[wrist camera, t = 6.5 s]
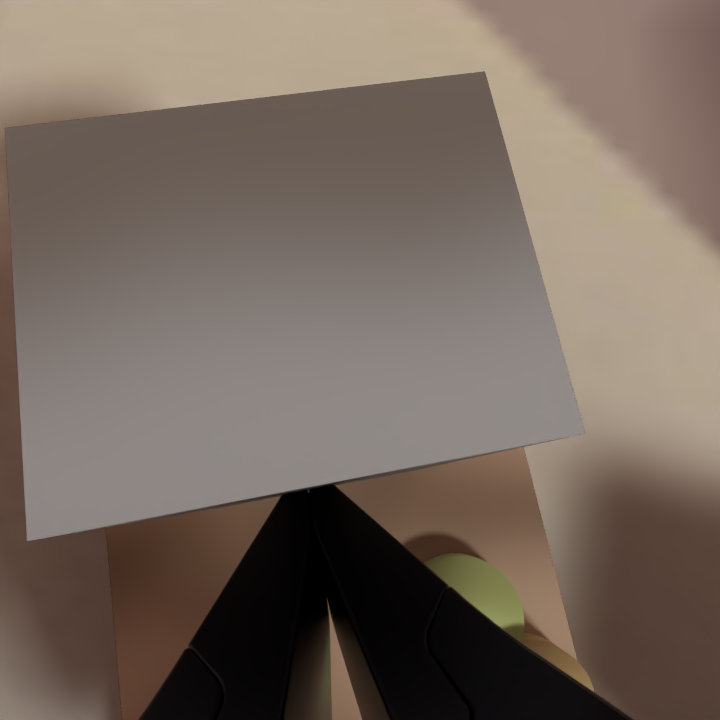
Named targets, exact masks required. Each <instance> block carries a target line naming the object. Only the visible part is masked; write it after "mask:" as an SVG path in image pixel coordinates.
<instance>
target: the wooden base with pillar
mask: <svg viewBox="0 0 720 720" xmlns="http://www.w3.org/2000/svg"><path fill="white" fill-rule="evenodd" d="M5 141H6V159H7V178H8V197H9V215H10V234H11V252H12V271H13V290H14V308H15V327H16V346H17V364H18V383H19V401H20V420H21V439H22V457H23V476H24V494H25V513H26V532H27V541H31V540H37V539H43V538H49V537H54V536H60V535H66V534H72V533H77V532H83V531H89V530H95V529H100V528H106V536H107V548H108V560H109V571H110V583H111V595H112V607H113V619H114V631H115V643H116V655H117V666H118V678H119V690H120V702H121V714H122V720H138V719H139V717H140V716H141V714H142V713H143V712H144V710H145V709H146V708H147V706H148V705H149V703H150V701H151V700H152V698H153V697H154V695H155V694H156V692H157V691H158V689H159V688H160V686H161V685H162V683H163V682H164V680H165V679H166V677H167V676H168V674H169V673H170V671H171V670H172V668H173V667H174V665H175V663H176V662H177V660H178V659H179V657H180V655H181V654H182V652H183V651H184V649H186V648H188V644H189V643H190V641H191V639H192V638H193V636H194V635H195V633H196V631H197V630H198V628H199V627H200V625H201V623H202V622H203V620H204V619H205V617H206V615H207V614H208V612H209V611H210V609H211V607H212V606H213V604H214V603H215V601H216V599H217V598H218V596H219V595H220V593H221V591H222V590H223V588H224V587H225V585H226V583H227V582H228V580H229V579H230V577H231V575H232V574H233V572H234V571H235V569H236V567H237V566H238V564H239V563H240V561H241V559H242V558H243V556H244V555H245V553H246V551H247V550H248V548H249V547H250V545H251V543H252V542H253V540H254V539H255V537H256V535H257V534H258V532H259V531H260V529H261V527H262V526H263V524H264V523H265V521H266V519H267V518H268V516H269V515H270V513H271V511H272V510H273V508H274V507H275V505H276V503H277V502H278V500H279V499H280V497H281V495H283V494H288V493H293V492H298V491H303V490H308V493H309V489H313V488H319V487H324V486H329V485H335V486H336V487H337V488H339V489H340V490H341V491H342V492H343V493H344V494H345V495H347V496H348V497H349V498H350V499H351V500H352V501H353V502H355V503H356V504H357V505H358V506H359V507H360V508H361V509H363V510H364V511H365V512H366V513H367V514H368V515H369V516H371V517H372V518H373V519H374V520H375V521H376V522H377V523H379V524H380V525H381V526H382V527H383V528H384V529H385V530H387V531H388V532H389V533H390V534H391V535H392V536H393V537H395V538H396V539H397V540H398V541H399V542H400V543H401V544H403V545H404V546H405V547H406V548H407V549H408V550H409V551H411V552H412V553H413V554H414V555H415V556H416V557H417V558H419V559H420V560H421V561H422V562H423V563H424V564H425V565H427V566H428V567H429V568H430V569H431V570H432V571H433V572H435V573H436V574H437V575H438V576H439V577H440V578H441V579H443V580H444V581H445V582H446V583H447V584H448V585H449V587H453V588H454V589H455V590H456V591H457V592H459V593H460V594H461V595H462V596H463V597H464V598H465V599H466V600H468V601H469V602H470V603H471V604H472V605H474V606H475V607H476V608H477V609H478V610H480V611H481V612H482V613H483V614H485V615H486V616H487V617H488V618H490V619H491V620H492V621H493V622H494V623H496V624H497V625H498V626H500V627H501V628H503V629H504V630H505V631H507V632H508V633H509V634H511V635H512V636H514V637H515V638H516V639H518V640H519V641H521V642H522V643H523V644H525V645H526V646H528V647H529V648H530V649H532V650H533V651H535V652H536V653H538V654H539V655H541V656H542V657H544V658H545V659H546V660H548V661H549V662H551V663H552V664H554V665H555V666H557V667H558V668H560V669H561V670H563V671H564V672H566V673H567V674H569V675H570V676H571V677H573V678H574V679H576V680H577V681H579V682H580V683H582V684H583V685H585V686H586V687H588V688H589V689H591V690H592V691H593V692H594V689H593V685H592V682H591V680H590V678H589V676H588V674H587V672H586V671H585V669H584V668H583V667H582V665H581V664H580V663H579V662H578V661H577V657H576V653H575V649H574V645H573V641H572V637H571V633H570V629H569V625H568V621H567V617H566V613H565V609H564V605H563V601H562V597H561V593H560V589H559V585H558V581H557V577H556V573H555V569H554V565H553V561H552V558H551V554H550V550H549V546H548V542H547V538H546V534H545V530H544V526H543V522H542V518H541V514H540V510H539V506H538V502H537V498H536V494H535V490H534V486H533V482H532V478H531V474H530V470H529V466H528V462H527V458H526V454H525V450H524V447H525V446H530V445H534V444H539V443H544V442H548V441H553V440H558V439H562V438H567V437H572V436H576V435H581V434H585V430H584V426H583V423H582V419H581V416H580V412H579V408H578V405H577V401H576V398H575V394H574V390H573V387H572V383H571V380H570V376H569V372H568V369H567V365H566V362H565V358H564V354H563V351H562V347H561V344H560V340H559V336H558V333H557V329H556V326H555V322H554V318H553V315H552V311H551V308H550V304H549V300H548V297H547V293H546V290H545V286H544V282H543V279H542V275H541V272H540V268H539V264H538V261H537V257H536V254H535V250H534V246H533V243H532V239H531V236H530V232H529V228H528V225H527V221H526V218H525V214H524V210H523V207H522V203H521V200H520V196H519V192H518V189H517V185H516V182H515V178H514V174H513V171H512V167H511V164H510V160H509V157H508V153H507V149H506V146H505V142H504V139H503V135H502V131H501V128H500V124H499V121H498V117H497V113H496V110H495V106H494V103H493V99H492V95H491V92H490V88H489V85H488V81H487V77H486V74H485V71H484V72H476V73H467V74H459V75H450V76H442V77H433V78H425V79H416V80H408V81H399V82H391V83H382V84H374V85H365V86H357V87H348V88H340V89H331V90H323V91H314V92H306V93H298V94H289V95H281V96H272V97H264V98H255V99H247V100H238V101H230V102H221V103H213V104H204V105H196V106H187V107H179V108H170V109H162V110H153V111H145V112H136V113H128V114H119V115H111V116H102V117H94V118H85V119H77V120H68V121H60V122H51V123H43V124H34V125H26V126H17V127H9V128H5ZM327 601H328V600H327ZM328 609H329V605H328ZM329 621H330V654H331V698H332V720H362V717H361V714H360V711H359V708H358V704H357V701H356V698H355V694H354V691H353V688H352V685H351V681H350V678H349V675H348V672H347V668H346V665H345V662H344V658H343V655H342V652H341V649H340V645H339V642H338V639H337V636H336V632H335V629H334V625H333V622H332V618H331V614H330V610H329Z"/></svg>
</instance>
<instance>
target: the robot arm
mask: <svg viewBox="0 0 720 720" xmlns="http://www.w3.org/2000/svg"><path fill="white" fill-rule="evenodd" d="M327 600H328V601H327ZM328 605H329V609H328ZM329 610H330V614H331V618H332V622H333V625H334V629H335V632H336V636H337V639H338V642H339V645H340V649H341V652H342V655H343V658H344V662H345V665H346V668H347V672H348V675H349V678H350V681H351V685H352V688H353V691H354V694H355V698H356V701H357V704H358V708H359V711H360V714H361V717H362V720H635V719H633V718H632V717H630V716H629V715H627V714H626V713H624V712H623V711H621V710H620V709H618V708H617V707H616V706H614V705H613V704H611V703H610V702H608V701H607V700H605V699H604V698H602V697H601V696H599V695H598V694H596V693H595V692H593V691H592V690H591V689H589V688H588V687H586V686H585V685H583V684H582V683H580V682H579V681H577V680H576V679H574V678H573V677H571V676H570V675H569V674H567V673H566V672H564V671H563V670H561V669H560V668H558V667H557V666H555V665H554V664H552V663H551V662H549V661H548V660H546V659H545V658H544V657H542V656H541V655H539V654H538V653H536V652H535V651H533V650H532V649H530V648H529V647H528V646H526V645H525V644H523V643H522V642H521V641H519V640H518V639H516V638H515V637H514V636H512V635H511V634H509V633H508V632H507V631H505V630H504V629H503V628H501V627H500V626H498V625H497V624H496V623H494V622H493V621H492V620H491V619H490V618H488V617H487V616H486V615H485V614H483V613H482V612H481V611H480V610H478V609H477V608H476V607H475V606H474V605H472V604H471V603H470V602H469V601H468V600H466V599H465V598H464V597H463V596H462V595H461V594H460V593H459V592H457V591H456V590H455V589H454V588H453V587H449V585H448V584H447V583H446V582H445V581H444V580H443V579H441V578H440V577H439V576H438V575H437V574H436V573H435V572H433V571H432V570H431V569H430V568H429V567H428V566H427V565H425V564H424V563H423V562H422V561H421V560H420V559H419V558H417V557H416V556H415V555H414V554H413V553H412V552H411V551H409V550H408V549H407V548H406V547H405V546H404V545H403V544H401V543H400V542H399V541H398V540H397V539H396V538H395V537H393V536H392V535H391V534H390V533H389V532H388V531H387V530H385V529H384V528H383V527H382V526H381V525H380V524H379V523H377V522H376V521H375V520H374V519H373V518H372V517H371V516H369V515H368V514H367V513H366V512H365V511H364V510H363V509H361V508H360V507H359V506H358V505H357V504H356V503H355V502H353V501H352V500H351V499H350V498H349V497H348V496H347V495H345V494H344V493H343V492H342V491H341V490H340V489H339V488H337V487H336V486H335V485H329V486H324V487H319V488H313V489H309V493H308V490H303V491H298V492H293V493H288V494H283V495H281V497H280V499H279V500H278V502H277V503H276V505H275V507H274V508H273V510H272V511H271V513H270V515H269V516H268V518H267V519H266V521H265V523H264V524H263V526H262V527H261V529H260V531H259V532H258V534H257V535H256V537H255V539H254V540H253V542H252V543H251V545H250V547H249V548H248V550H247V551H246V553H245V555H244V556H243V558H242V559H241V561H240V563H239V564H238V566H237V567H236V569H235V571H234V572H233V574H232V575H231V577H230V579H229V580H228V582H227V583H226V585H225V587H224V588H223V590H222V591H221V593H220V595H219V596H218V598H217V599H216V601H215V603H214V604H213V606H212V607H211V609H210V611H209V612H208V614H207V615H206V617H205V619H204V620H203V622H202V623H201V625H200V627H199V628H198V630H197V631H196V633H195V635H194V636H193V638H192V639H191V641H190V643H189V644H188V648H186V649H184V651H183V652H182V654H181V655H180V657H179V659H178V660H177V662H176V663H175V665H174V667H173V668H172V670H171V671H170V673H169V674H168V676H167V677H166V679H165V680H164V682H163V683H162V685H161V686H160V688H159V689H158V691H157V692H156V694H155V695H154V697H153V698H152V700H151V701H150V703H149V705H148V706H147V708H146V709H145V710H144V712H143V713H142V714H141V716H140V717H139V719H138V720H332V698H331V654H330V621H329Z"/></svg>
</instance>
